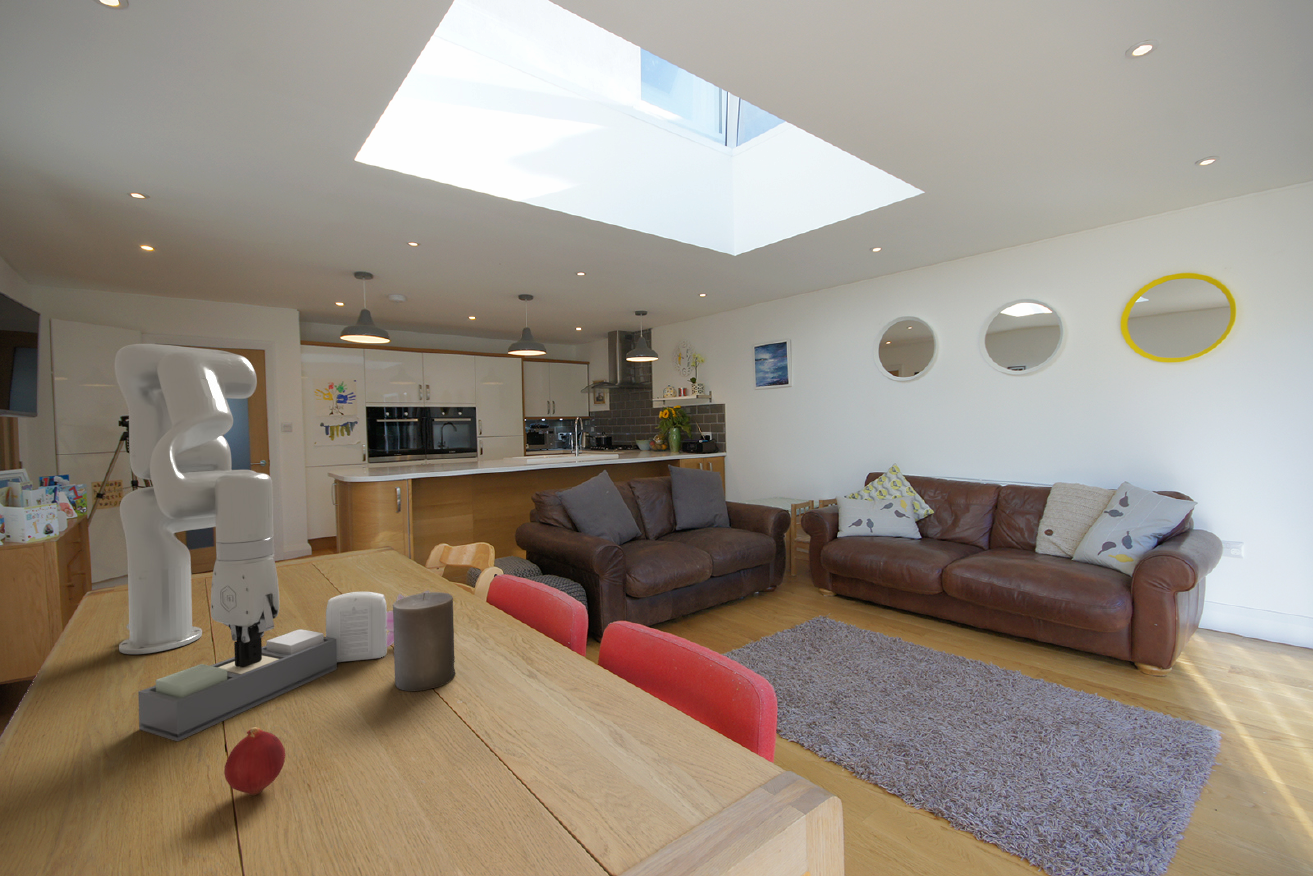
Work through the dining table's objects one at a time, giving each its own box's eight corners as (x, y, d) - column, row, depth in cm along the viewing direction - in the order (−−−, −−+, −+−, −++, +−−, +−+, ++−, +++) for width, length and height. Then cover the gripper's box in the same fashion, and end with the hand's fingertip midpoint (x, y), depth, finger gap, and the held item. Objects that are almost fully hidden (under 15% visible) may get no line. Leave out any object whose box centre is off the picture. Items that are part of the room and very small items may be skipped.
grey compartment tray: (139, 729, 82) (138, 691, 81) (302, 662, 105) (301, 632, 104) (177, 741, 78) (176, 702, 78) (336, 669, 101) (336, 638, 101)
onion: (246, 779, 70) (245, 715, 70) (295, 776, 70) (294, 713, 70) (213, 811, 64) (212, 741, 64) (267, 808, 64) (266, 738, 64)
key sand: (216, 693, 90) (215, 668, 90) (255, 677, 95) (254, 653, 95) (241, 699, 88) (241, 674, 87) (279, 683, 93) (279, 659, 93)
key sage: (156, 707, 82) (155, 680, 82) (202, 689, 88) (201, 663, 88) (182, 714, 80) (181, 686, 80) (227, 695, 86) (227, 669, 86)
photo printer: (389, 650, 110) (388, 587, 110) (385, 659, 106) (384, 593, 106) (329, 656, 107) (328, 591, 107) (323, 666, 103) (321, 598, 103)
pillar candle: (467, 672, 100) (465, 587, 100) (423, 696, 91) (421, 603, 91) (426, 664, 104) (424, 582, 104) (380, 686, 95) (378, 597, 95)
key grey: (266, 664, 97) (266, 640, 97) (300, 651, 103) (299, 629, 103) (291, 669, 95) (290, 645, 95) (323, 655, 101) (323, 633, 100)
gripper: (189, 551, 90) (192, 666, 90) (253, 558, 85) (256, 680, 85) (239, 542, 97) (242, 649, 97) (300, 548, 92) (303, 661, 92)
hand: (248, 663), depth 91 cm, fingers closed
